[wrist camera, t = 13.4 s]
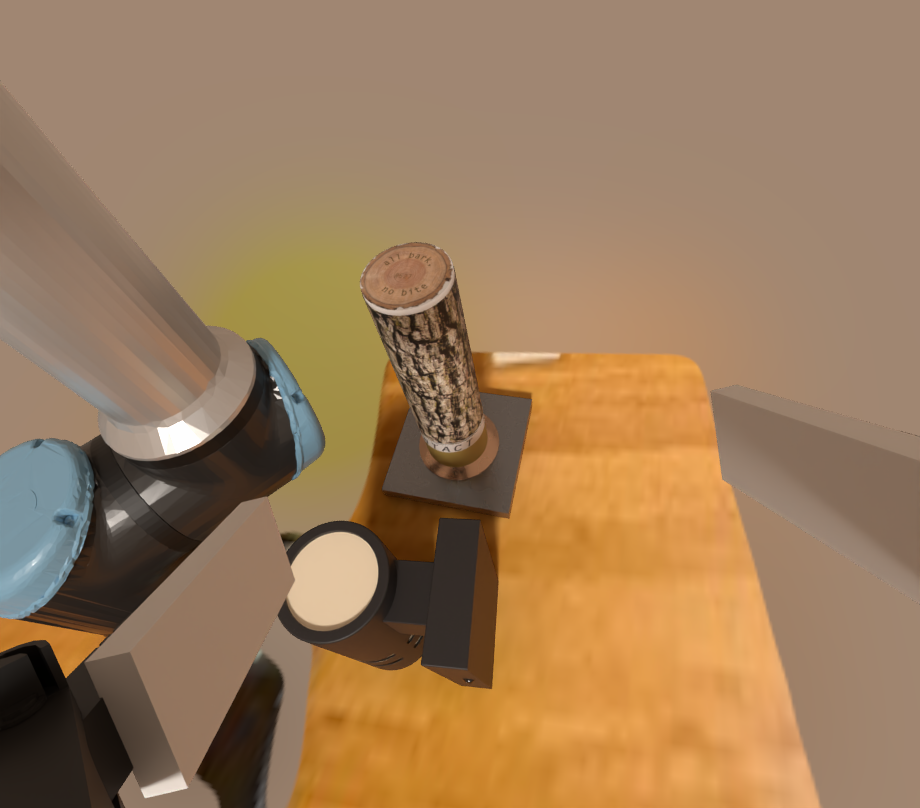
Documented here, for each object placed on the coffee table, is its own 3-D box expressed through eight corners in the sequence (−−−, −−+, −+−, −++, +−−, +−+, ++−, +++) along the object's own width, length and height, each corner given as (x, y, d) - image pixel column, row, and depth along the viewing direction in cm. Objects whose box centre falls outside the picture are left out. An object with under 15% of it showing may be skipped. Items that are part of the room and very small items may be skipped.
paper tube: (438, 412, 59) (378, 239, 38) (494, 421, 57) (464, 245, 37) (420, 464, 56) (345, 305, 35) (480, 475, 54) (438, 315, 33)
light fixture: (364, 568, 52) (294, 505, 37) (498, 578, 50) (480, 515, 35) (343, 675, 47) (252, 652, 32) (491, 692, 45) (467, 675, 30)
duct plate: (385, 494, 56) (381, 488, 55) (420, 390, 63) (417, 383, 62) (509, 518, 53) (508, 512, 52) (532, 406, 60) (531, 398, 58)
